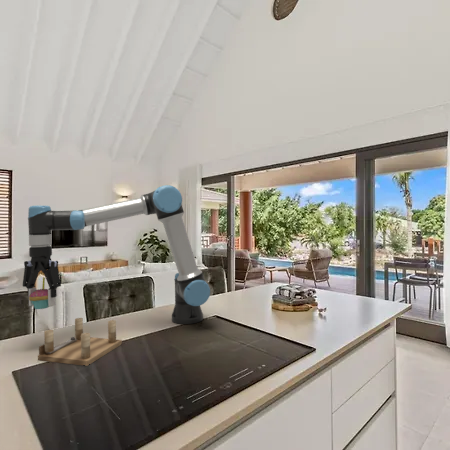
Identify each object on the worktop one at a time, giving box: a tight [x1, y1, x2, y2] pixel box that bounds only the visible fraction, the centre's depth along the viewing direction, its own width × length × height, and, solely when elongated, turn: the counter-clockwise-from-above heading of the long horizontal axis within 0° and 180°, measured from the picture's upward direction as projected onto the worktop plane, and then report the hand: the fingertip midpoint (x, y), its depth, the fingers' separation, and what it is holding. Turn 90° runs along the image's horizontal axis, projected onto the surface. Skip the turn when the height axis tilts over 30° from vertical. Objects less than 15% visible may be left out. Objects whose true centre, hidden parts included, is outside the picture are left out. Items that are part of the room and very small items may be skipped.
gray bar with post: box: [43, 329, 77, 353], centre depth 119 cm, size 3×14×8 cm, turn 165°
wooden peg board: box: [37, 317, 123, 367], centre depth 119 cm, size 20×20×10 cm
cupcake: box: [28, 277, 49, 310], centre depth 124 cm, size 9×8×12 cm
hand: (42, 305), depth 124 cm, fingers closed on cupcake, 8 cm apart
